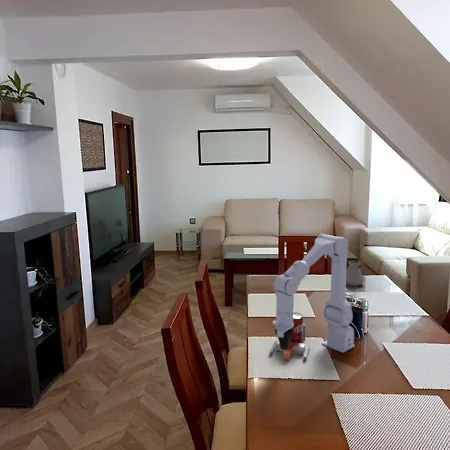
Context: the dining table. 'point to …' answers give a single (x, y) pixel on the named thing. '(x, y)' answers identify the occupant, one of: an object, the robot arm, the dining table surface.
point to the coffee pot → (354, 274)
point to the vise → (303, 339)
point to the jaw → (292, 349)
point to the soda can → (297, 328)
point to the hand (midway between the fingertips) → (284, 348)
